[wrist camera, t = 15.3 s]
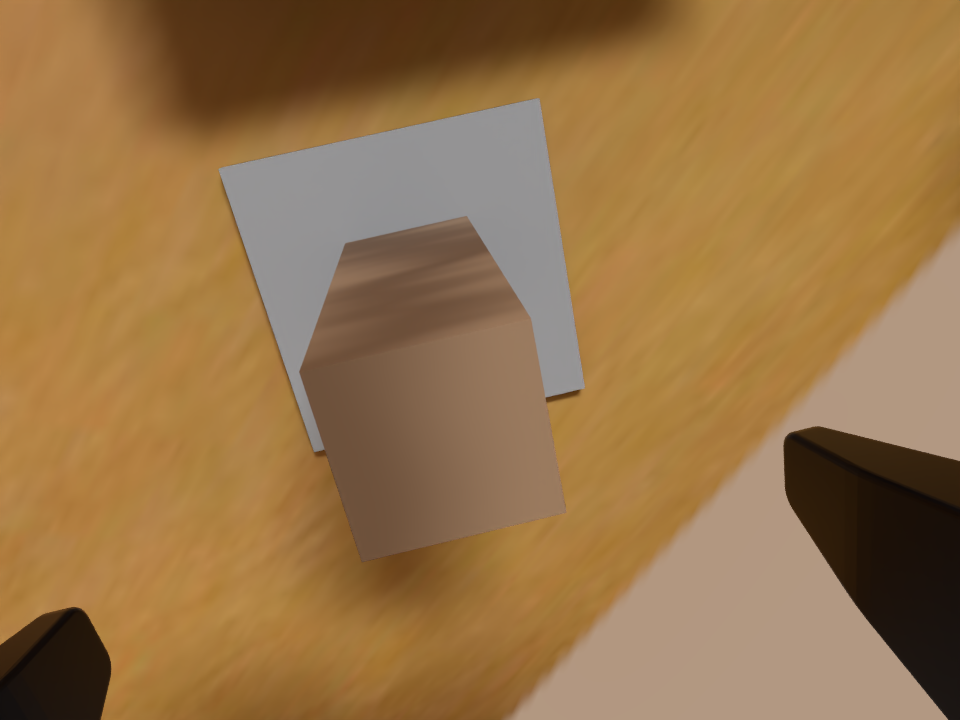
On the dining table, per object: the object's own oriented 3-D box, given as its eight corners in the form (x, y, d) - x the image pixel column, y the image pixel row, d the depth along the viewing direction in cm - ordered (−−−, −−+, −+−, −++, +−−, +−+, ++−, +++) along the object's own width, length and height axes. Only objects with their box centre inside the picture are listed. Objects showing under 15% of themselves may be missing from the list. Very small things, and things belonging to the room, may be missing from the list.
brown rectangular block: (466, 215, 20) (530, 318, 10) (490, 330, 21) (566, 512, 12) (345, 243, 19) (298, 371, 10) (377, 356, 21) (361, 562, 11)
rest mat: (536, 98, 19) (539, 98, 19) (581, 383, 22) (585, 388, 22) (221, 167, 19) (218, 168, 18) (315, 446, 22) (314, 452, 22)
